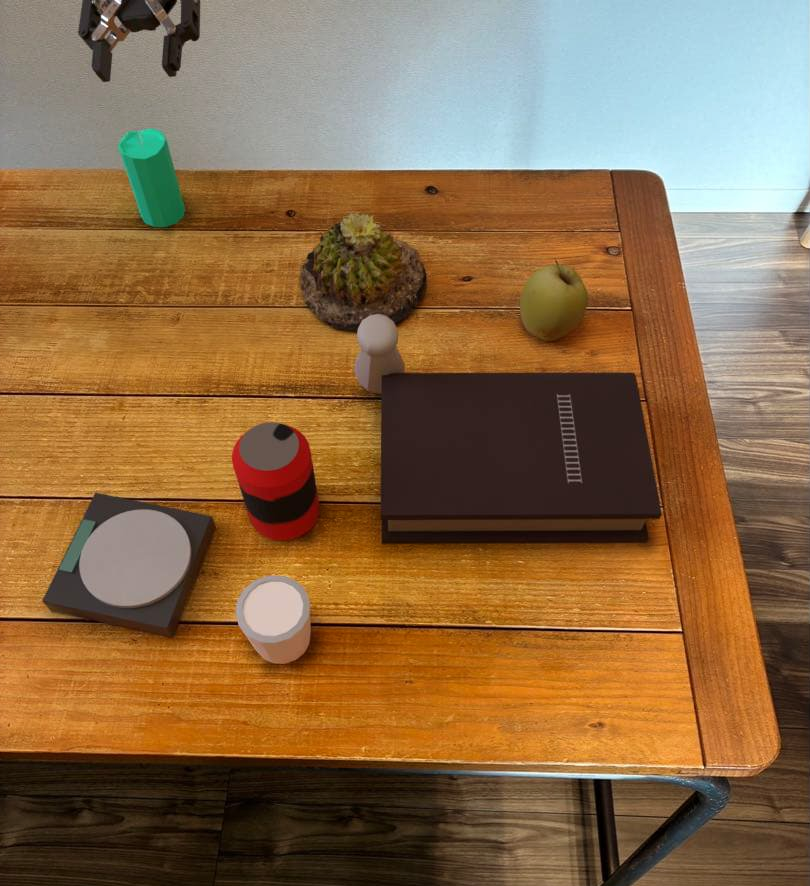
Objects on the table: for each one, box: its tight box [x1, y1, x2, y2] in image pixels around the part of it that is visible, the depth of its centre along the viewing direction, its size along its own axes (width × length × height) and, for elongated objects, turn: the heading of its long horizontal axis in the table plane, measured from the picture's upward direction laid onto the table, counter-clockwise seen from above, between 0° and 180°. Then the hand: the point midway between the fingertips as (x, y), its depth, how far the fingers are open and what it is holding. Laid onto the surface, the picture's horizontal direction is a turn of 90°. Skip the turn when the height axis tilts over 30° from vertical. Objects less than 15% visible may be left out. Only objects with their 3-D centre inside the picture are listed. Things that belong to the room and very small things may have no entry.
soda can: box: [231, 421, 320, 541], centre depth 83 cm, size 8×8×12 cm
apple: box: [519, 259, 589, 342], centre depth 97 cm, size 8×8×10 cm
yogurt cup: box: [234, 574, 311, 665], centre depth 78 cm, size 7×7×7 cm
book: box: [380, 371, 663, 545], centre depth 89 cm, size 28×20×6 cm
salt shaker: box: [354, 314, 406, 395], centre depth 90 cm, size 6×6×13 cm
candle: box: [117, 127, 186, 228], centre depth 106 cm, size 6×6×12 cm
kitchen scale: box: [41, 492, 217, 639], centre depth 83 cm, size 13×13×3 cm
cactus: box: [299, 211, 428, 332], centre depth 101 cm, size 17×16×10 cm
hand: (135, 75), depth 95 cm, fingers open, 8 cm apart
